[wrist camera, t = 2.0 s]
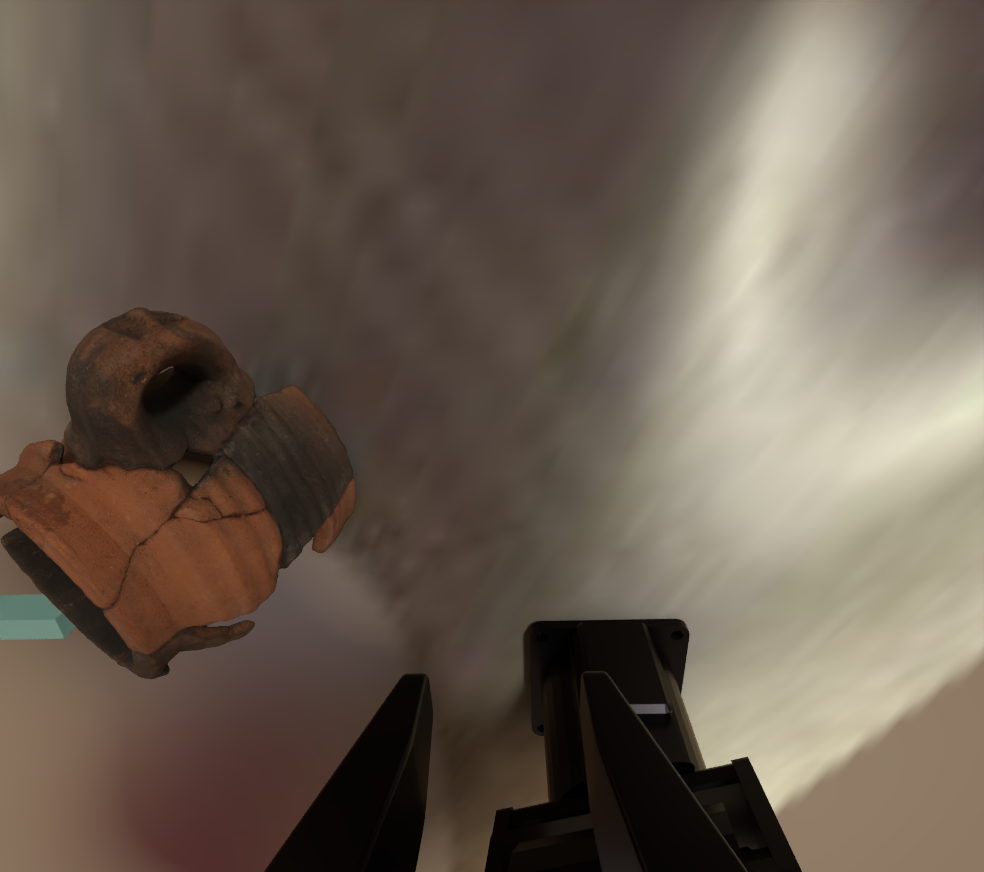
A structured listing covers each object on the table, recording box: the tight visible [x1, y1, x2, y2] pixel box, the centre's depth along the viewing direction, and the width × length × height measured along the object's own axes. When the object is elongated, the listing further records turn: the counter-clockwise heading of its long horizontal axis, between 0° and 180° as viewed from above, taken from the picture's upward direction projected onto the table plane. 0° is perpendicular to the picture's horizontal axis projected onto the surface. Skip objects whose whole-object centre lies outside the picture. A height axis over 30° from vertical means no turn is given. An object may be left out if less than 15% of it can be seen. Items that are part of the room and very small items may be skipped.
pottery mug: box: [0, 307, 356, 679], centre depth 17 cm, size 12×10×8 cm
